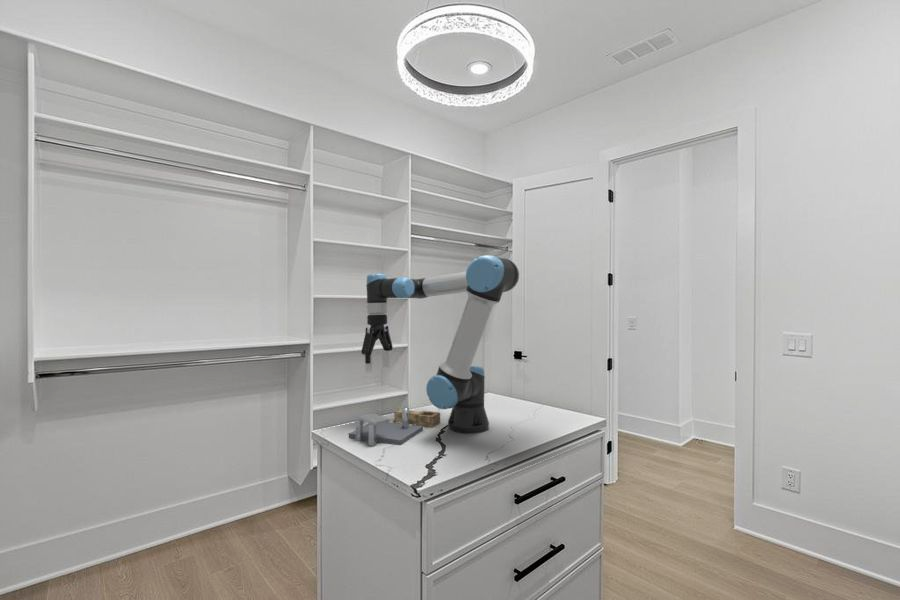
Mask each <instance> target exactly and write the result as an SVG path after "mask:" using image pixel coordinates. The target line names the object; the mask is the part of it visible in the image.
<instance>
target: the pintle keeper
mask: <svg viewBox="0 0 900 600" xmlns="http://www.w3.org/2000/svg"><path fill="white" fill-rule="evenodd" d="M401 410H402V423H401V424H402V429H408V428H409V425H410V424H409V411H410V409H409V407H402V408H401ZM388 422H389V423H391V419H390V418H388V417H385V416H382V415H379V414H376V413H368V414H364V415H359V416H357V419H356V420H355V430H356V439H355V441H358V442H361V441H363V440H362V435H363V426H364V423H367V424H370V425H369V441H368V446H369V447H375V446H377V442H376V425H379V424H384V423H388Z"/></svg>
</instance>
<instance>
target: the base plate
mask: <svg viewBox="0 0 900 600" xmlns="http://www.w3.org/2000/svg"><path fill="white" fill-rule="evenodd" d="M369 425H370V424H369V423H367V424H365V425H363V435H362V440H361V441H368V442H369ZM423 431H424V427H423V426H416V424H409V428H408V429H402V423H399V422H388V423H384V424H379V425H376V443H377V442H378V443H384V444H391V445H398V446H402V445H403V444H404V443H406V442H408V441H410V440H411V439H412V438H414V437H415V436H417V435H418V434H420V433H421V432H423ZM348 438H349V439H355V440H356V429H355V430H353V431H351V432H348Z"/></svg>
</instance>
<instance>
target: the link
mask: <svg viewBox="0 0 900 600" xmlns="http://www.w3.org/2000/svg"><path fill="white" fill-rule="evenodd" d="M393 416H394V419H393V420H394V421H393V423H399V424H402V409H397V410H394V413H393ZM440 423H441V412H439V411H429V410H422V411H418V410H417V411H416V410H409V425H415V426H423V428H431V429H433V428H434V427H436V426H437V425H439V424H440Z"/></svg>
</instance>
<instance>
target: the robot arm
mask: <svg viewBox="0 0 900 600" xmlns="http://www.w3.org/2000/svg"><path fill="white" fill-rule="evenodd" d="M519 279H520V271H519V269H518V266H517V265H516V264H515V263H514V262H513V261H512V260H510V259H508V258H503V257H498V256H493V255H492V254H491V255H489V254H488V255H481V256H478V257H476V258H474V259H473V260H472V261H471V262H470V263H469V264H468V266H467V268H466V271H461V272H455V273H449V274H442V275H437V276H430V277H423V278H409V277H401V276H400V277H393V278H387V275H386V274H385V273H371V274H368V275H367V276H366V285H365V286H366V304H367V305H366V310H367V311H366V312H367V313H366V314H368V315H367V317H366V320H367V321H366V322H367V324H366V325H368V326H370V327H365V335H364V339H363V344H362V348H361V354H362V355H363V356H365V357H364V358H365V360H364V362H365V366H364V367H365V373H374V359H373V357H374V355H373V354H372V352H373V351H374V348H375V344H376V341H378V340H379V342H380V345H381V347H382V349H383V350H382V367H383V368H390V367H391V358H390V357H391V353H390V352H391V351H393V348H394V347H393V343H392V339H391V334H390V331H389V326H388V325H387V324H388V315H387V313H388V303H387V302H388V299H427V298H428V297H436V296H445V295H453V294H454V295H455V294H459V293H460V294H461V293H467V296H468V298H467V300H466V302H465V305H464V309H463V312H462V314H461V317H460V320H459V323H458V326H457V329H456V331H455V335H454V337H453V340H452V343H451V346H450V348H449V351H448V355H447V357H446V360H445V361H443V362H440V365H439V366H438V369H437V372H436V374H435V375H434V376H431V378H429V380H428V381H427V384H426V388H425V389H426V395H427V397H428V400H429V402H430V403H431V404H432V405H433V406H434V407H435V408H437V409H440V410H448V409H451V412H450V415H449V416H448V417H449V418H448V422H447V428H448V430H450V431H451V432H455V433H460V434H478V433H479V434H480V433H484V432H486V431H489V429H490V423H489V421H490V420H489V418H488V415H487V412H486V409H485V378H486V377H485V370H484V368H483V367H481V366H476V365H472V364H473V361H474V359H475V356H476V353H477V351H478V348H479V345H480V342H481V340H482V336H483V334H484V331H485V329H486V326H487V323H488V320H489V318H490V315H491V313H492V309H493V306H495V305H496V304H499V303H500V301H501V298H502V296H503V293H506V292H509V291H511V290H513V289H514V288H515V287H516V285H518V281H519Z"/></svg>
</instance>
